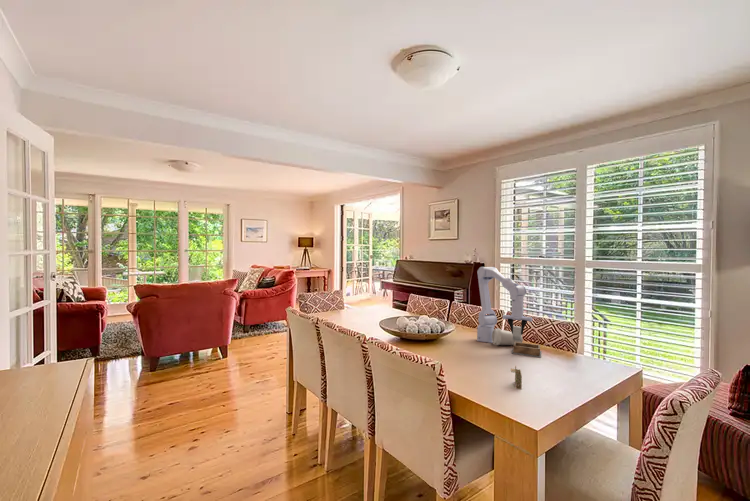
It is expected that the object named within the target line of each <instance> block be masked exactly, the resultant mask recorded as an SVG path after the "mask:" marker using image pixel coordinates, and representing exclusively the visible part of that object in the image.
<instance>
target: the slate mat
mask: <svg viewBox="0 0 750 501" xmlns="http://www.w3.org/2000/svg"><path fill="white" fill-rule="evenodd" d="M511 354H513V355H520V356H527V357H536V358H542V351H541V350H540V356H537V355H529V354H522V353H514V352H513V349H512V350H511Z"/></svg>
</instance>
